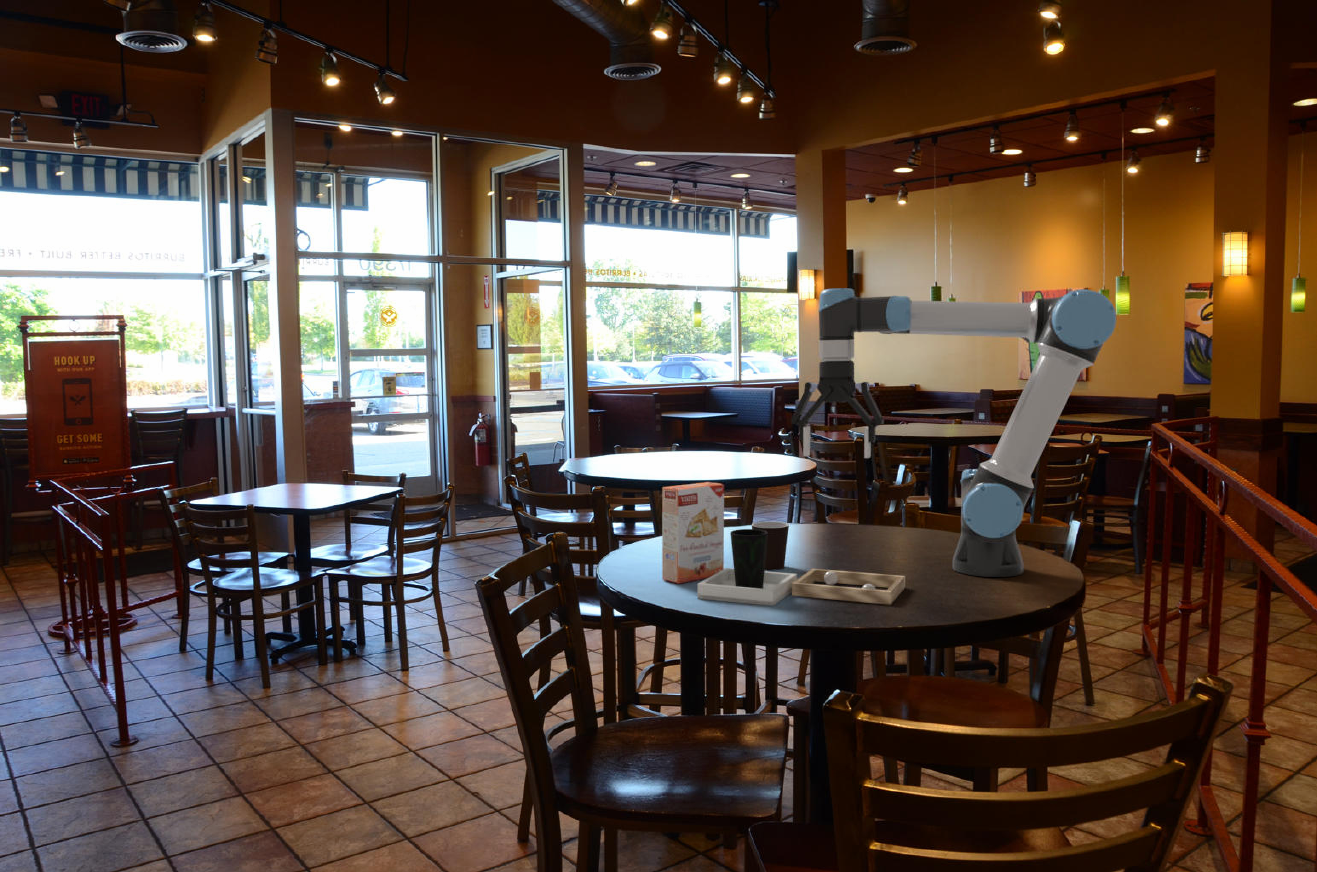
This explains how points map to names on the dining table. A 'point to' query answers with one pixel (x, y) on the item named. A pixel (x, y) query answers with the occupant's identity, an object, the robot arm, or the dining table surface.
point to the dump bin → (746, 588)
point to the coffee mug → (774, 543)
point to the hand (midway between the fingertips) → (836, 456)
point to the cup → (749, 557)
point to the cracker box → (692, 531)
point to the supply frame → (809, 589)
